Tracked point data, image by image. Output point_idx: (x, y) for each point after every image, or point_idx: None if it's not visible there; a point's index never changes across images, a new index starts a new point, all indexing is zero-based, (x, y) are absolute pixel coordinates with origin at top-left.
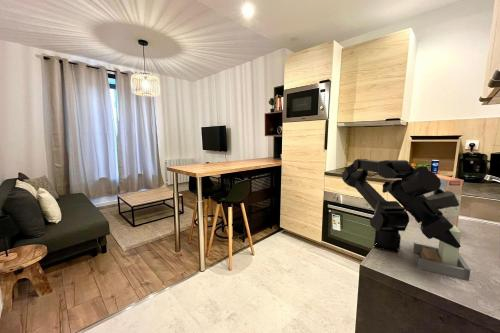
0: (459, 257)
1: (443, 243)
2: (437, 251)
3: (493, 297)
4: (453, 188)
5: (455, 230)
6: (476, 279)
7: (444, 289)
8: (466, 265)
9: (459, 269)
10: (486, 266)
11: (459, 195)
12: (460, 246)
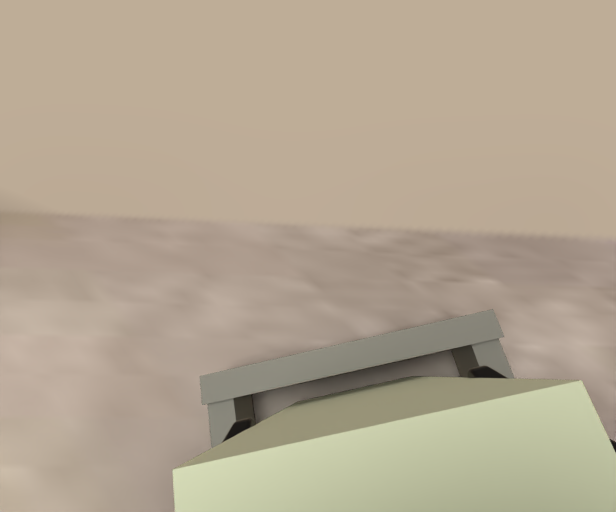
0: (335, 363)
1: None
2: None
3: (547, 241)
4: None
5: (550, 485)
6: (414, 291)
7: None
8: (446, 327)
9: (508, 365)
10: (213, 249)
11: None
12: (489, 369)
